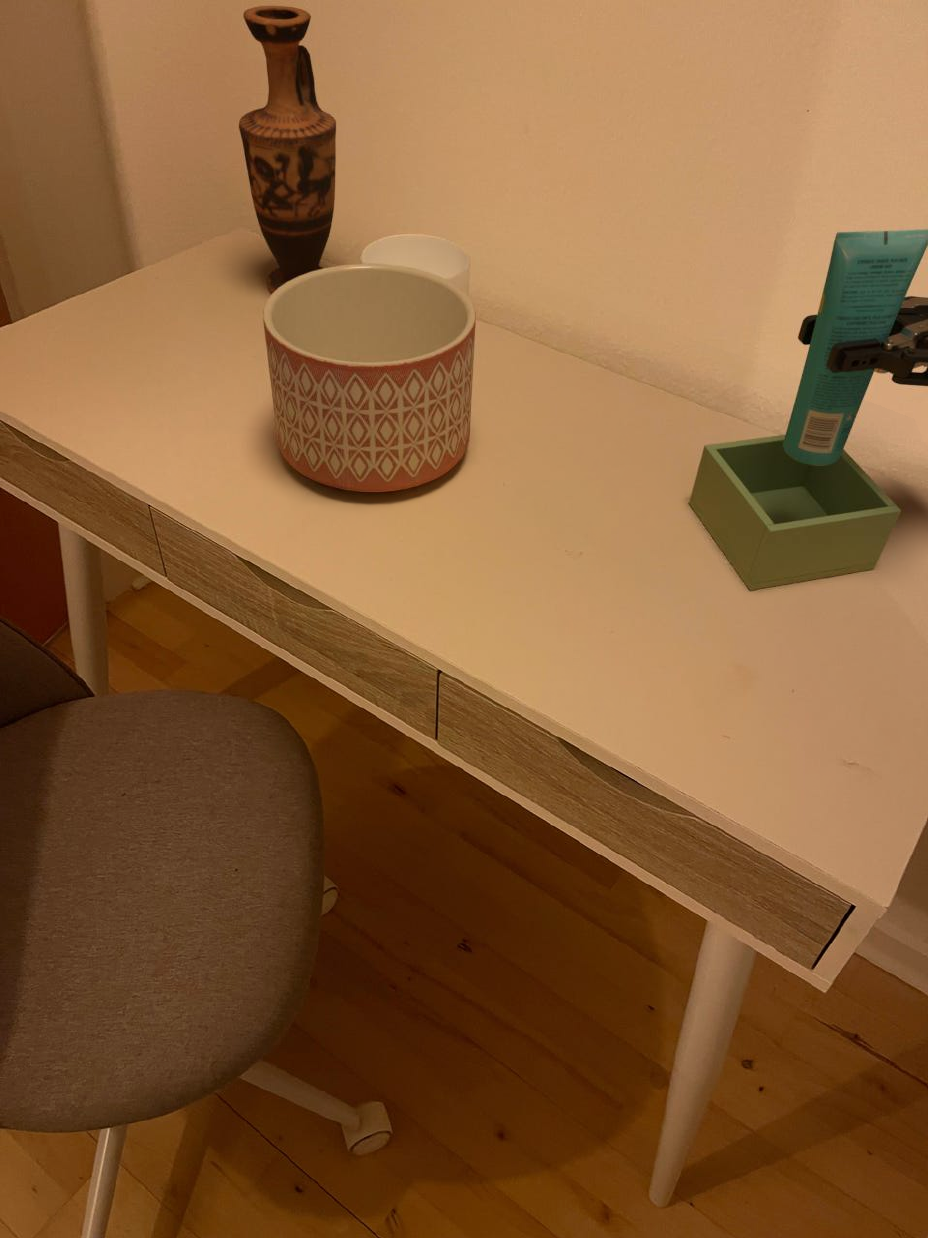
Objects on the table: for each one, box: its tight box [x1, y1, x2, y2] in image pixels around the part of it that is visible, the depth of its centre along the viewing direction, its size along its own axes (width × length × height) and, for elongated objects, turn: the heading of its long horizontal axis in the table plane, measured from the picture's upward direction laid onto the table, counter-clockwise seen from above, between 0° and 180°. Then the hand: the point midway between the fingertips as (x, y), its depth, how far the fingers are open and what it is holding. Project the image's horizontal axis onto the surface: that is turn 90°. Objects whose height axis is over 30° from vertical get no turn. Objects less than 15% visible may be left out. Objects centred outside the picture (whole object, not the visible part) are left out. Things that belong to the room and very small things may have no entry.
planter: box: [262, 263, 477, 493], centre depth 90 cm, size 19×19×15 cm
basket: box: [688, 434, 902, 591], centre depth 86 cm, size 13×13×7 cm
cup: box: [359, 233, 471, 298], centre depth 104 cm, size 12×12×12 cm
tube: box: [783, 228, 928, 466], centre depth 75 cm, size 7×5×19 cm, turn 104°
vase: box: [238, 5, 337, 294], centre depth 109 cm, size 11×11×30 cm
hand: (817, 344), depth 74 cm, fingers closed on tube, 3 cm apart
